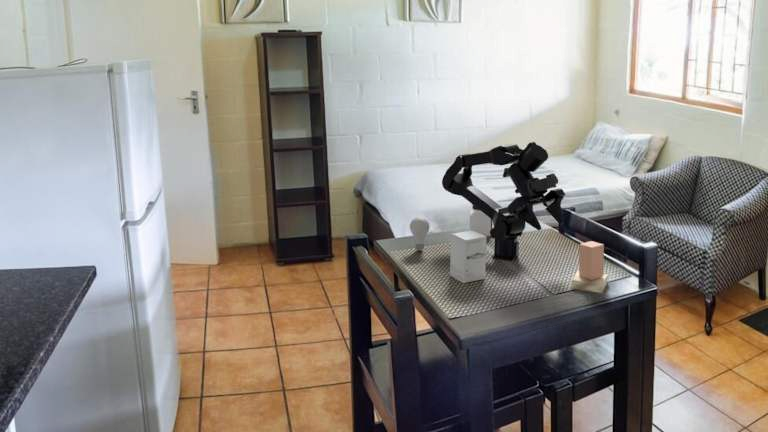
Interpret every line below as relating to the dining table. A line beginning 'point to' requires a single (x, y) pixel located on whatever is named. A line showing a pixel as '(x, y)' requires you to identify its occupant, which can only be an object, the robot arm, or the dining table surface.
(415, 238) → the lightbulb
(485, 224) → the medicine bottle
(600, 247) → the terracotta pillar
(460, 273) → the supplement box
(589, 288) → the beech block
